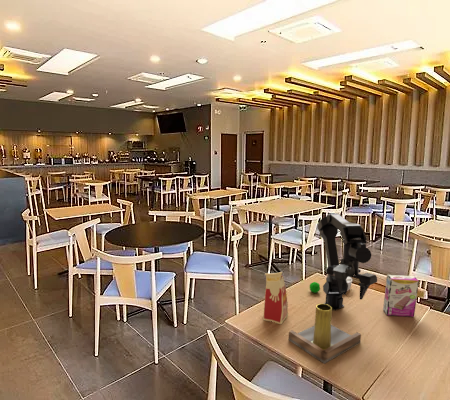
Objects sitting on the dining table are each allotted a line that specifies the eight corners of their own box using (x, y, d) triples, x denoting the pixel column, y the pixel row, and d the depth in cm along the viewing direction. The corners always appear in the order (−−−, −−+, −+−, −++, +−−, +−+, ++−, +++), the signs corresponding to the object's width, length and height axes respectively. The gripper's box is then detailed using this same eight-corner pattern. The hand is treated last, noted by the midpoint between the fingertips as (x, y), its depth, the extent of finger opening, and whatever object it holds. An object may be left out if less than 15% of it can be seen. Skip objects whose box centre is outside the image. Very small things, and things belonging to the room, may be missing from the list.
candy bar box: (387, 316, 139) (390, 279, 136) (382, 310, 144) (386, 274, 141) (415, 317, 138) (419, 280, 135) (409, 311, 143) (413, 275, 140)
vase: (334, 344, 117) (336, 307, 115) (325, 352, 113) (327, 313, 111) (318, 337, 122) (320, 301, 119) (309, 344, 117) (311, 306, 115)
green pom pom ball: (307, 292, 160) (308, 283, 159) (310, 288, 164) (311, 279, 163) (318, 295, 158) (318, 285, 157) (321, 291, 162) (321, 281, 161)
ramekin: (346, 295, 158) (346, 284, 157) (324, 288, 165) (324, 278, 164) (355, 287, 166) (356, 277, 165) (333, 281, 173) (334, 271, 172)
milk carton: (287, 314, 140) (289, 269, 137) (282, 324, 132) (283, 277, 128) (267, 309, 144) (268, 265, 140) (260, 319, 136) (261, 273, 132)
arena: (288, 340, 122) (288, 331, 121) (324, 323, 133) (324, 315, 133) (324, 363, 109) (324, 354, 108) (360, 342, 120) (361, 334, 120)
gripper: (318, 254, 132) (317, 293, 133) (362, 264, 117) (360, 308, 118) (335, 251, 138) (334, 288, 139) (378, 260, 124) (377, 301, 125)
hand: (350, 295), depth 130 cm, fingers open, 9 cm apart
